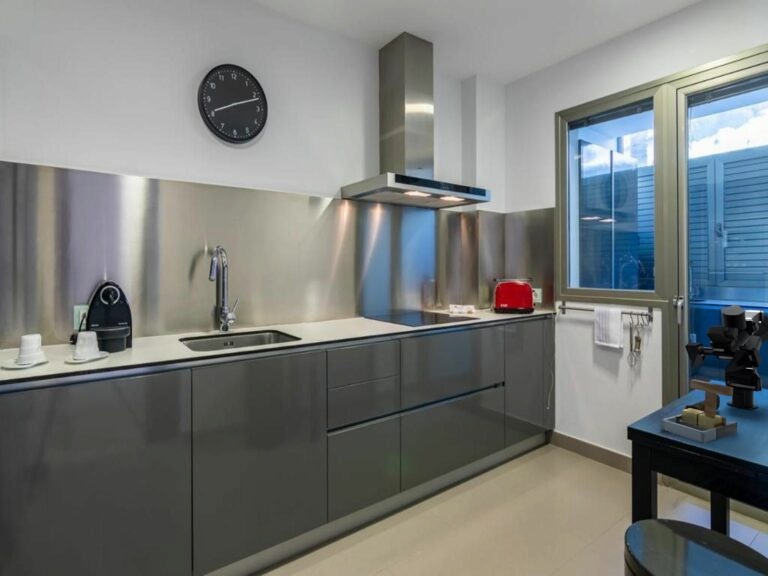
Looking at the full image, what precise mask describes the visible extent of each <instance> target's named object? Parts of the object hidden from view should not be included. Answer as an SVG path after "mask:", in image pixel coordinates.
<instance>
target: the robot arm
mask: <svg viewBox="0 0 768 576" xmlns="http://www.w3.org/2000/svg"><path fill="white" fill-rule="evenodd" d="M720 313H721V319H722V320H721V321H722V325H710V326H709V327H708V329H707V331H706V334H705V335H706V337H708V338H709V340H710V342H709V346H710V347H705V346H704V345H703V343H702V342H688V343H686V345H685V346H684V348H685V350H686V352H687V355H688V358H689V360H690V361H691V363H690V367H691V368H692V369H694V368H697V367H699V366H701V365H702V364H704V363H705V361H706V360H707V357H708V356H715V357H716V359H717V360H725V361H729V362H728V363H727V364H726V366H725V368H724V382H725V386H729V387H733V396H731V401H729V402H726V405H728V406H732V407H737V408H741V409H744V410H745V409H746V410H752V409H757V408H759V405H758V404H755V402H754V400H755V399H754V398H755V392H756V393H758V392H763V384H762V379H761V377H760V374H759V373H758V370H757V369H758V368H759V367H760V366H761V364H762V361H763V360H762V358H761V357H762V356H761V355H760V349H761V347H762V344H763V343H765V342H767V341H768V316H767V315H766V314H765V312H764V310H755V309H747V310H746V309H744V308H743V307H742V306H740V305H739V304H732V305H731V306H726V307H723V308H722V309H721V312H720Z"/></svg>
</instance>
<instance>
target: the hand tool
mask: <svg viewBox="0 0 768 576" xmlns="http://www.w3.org/2000/svg"><path fill="white" fill-rule="evenodd" d="M720 405H721V398H720V394H717V397H716V411H718V410H719V408H720ZM688 408H692V409H696V410H700V411H704V412H705V399H704V400H701V401H699V402H696V403H693V404H687V405H686V406H685V407H684V409H688Z"/></svg>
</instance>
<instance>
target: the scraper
mask: <svg viewBox="0 0 768 576" xmlns="http://www.w3.org/2000/svg"><path fill="white" fill-rule="evenodd" d="M689 382H690V384H689V385H690V386H689V387H690V388H691V389H695V390H699V391H702V392H704V400H705V413H710V414H714V415H717V416H721V417H722V425H724V424H726V423H727V416H722V415H718V414H717V410H716V397H717V394H718V395H719V396H725V397H732V396H733V387H729V386H726V385H723V384H719V383H716V382H715V383H714V382H710V381H704V380H699V379H695V378H694V379H690V381H689ZM691 409H692V408H691ZM695 410H696V409H695ZM699 411H700V410H699ZM702 412H704V411H702Z"/></svg>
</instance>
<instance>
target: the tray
mask: <svg viewBox="0 0 768 576" xmlns="http://www.w3.org/2000/svg"><path fill="white" fill-rule="evenodd" d="M675 416H676V415H673V416H670V417H666V418H662V419H661V420H660V421H661V424H660V427H661V428H660V429H662V431H664V430H665V431H664V432H667V431H668V432H667V433H670V432H671V434H673V433H674V434H673V435H677V436H679V437H682V438H685V439H689V440H692V441H694V442H699V443H701V444H705V443H709V442H711V441H715V440H717V439H716V428H712V429H708V430H705V431H700V430H696V429H693V428H690V427H687V426H683V425H680V424H677V423H676V417H675Z"/></svg>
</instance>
